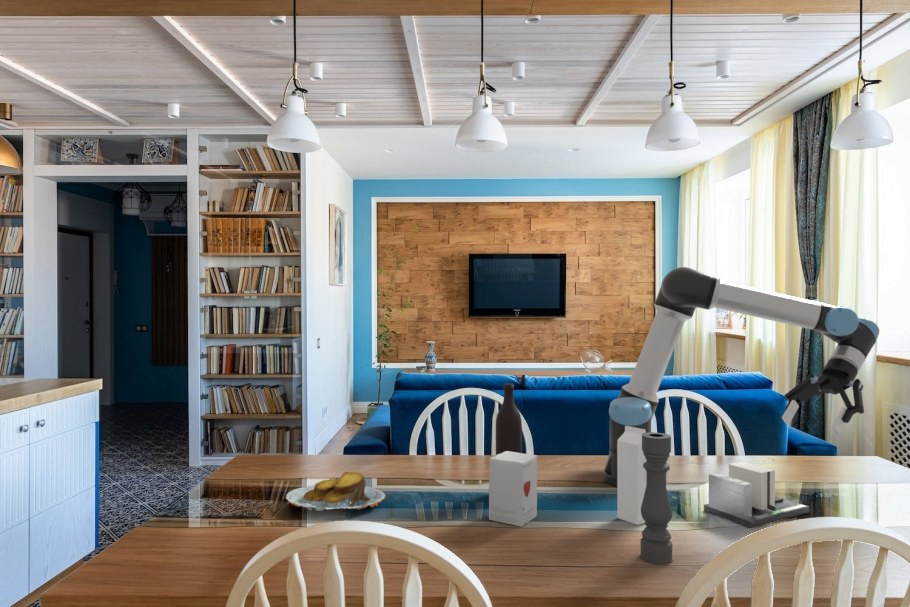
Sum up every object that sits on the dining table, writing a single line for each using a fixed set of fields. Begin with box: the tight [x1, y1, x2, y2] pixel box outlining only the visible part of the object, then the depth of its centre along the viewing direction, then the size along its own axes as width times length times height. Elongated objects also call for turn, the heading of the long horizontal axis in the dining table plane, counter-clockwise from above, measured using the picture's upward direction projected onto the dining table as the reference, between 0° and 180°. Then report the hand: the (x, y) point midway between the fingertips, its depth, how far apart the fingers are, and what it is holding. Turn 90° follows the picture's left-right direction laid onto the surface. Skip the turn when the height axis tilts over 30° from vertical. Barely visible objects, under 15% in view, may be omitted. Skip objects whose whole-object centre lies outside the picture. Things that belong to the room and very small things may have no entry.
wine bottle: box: [495, 383, 523, 456], centre depth 165 cm, size 7×7×30 cm
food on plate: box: [285, 471, 386, 512], centre depth 159 cm, size 25×25×7 cm
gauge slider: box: [728, 461, 776, 511], centre depth 150 cm, size 5×11×9 cm, turn 28°
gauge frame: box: [703, 472, 810, 529], centre depth 152 cm, size 22×13×10 cm, turn 118°
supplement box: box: [488, 451, 538, 528], centre depth 147 cm, size 9×9×15 cm
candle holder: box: [640, 431, 673, 566], centre depth 124 cm, size 6×6×25 cm
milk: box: [616, 426, 647, 526], centre depth 147 cm, size 6×6×22 cm
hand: (809, 425), depth 161 cm, fingers open, 13 cm apart
